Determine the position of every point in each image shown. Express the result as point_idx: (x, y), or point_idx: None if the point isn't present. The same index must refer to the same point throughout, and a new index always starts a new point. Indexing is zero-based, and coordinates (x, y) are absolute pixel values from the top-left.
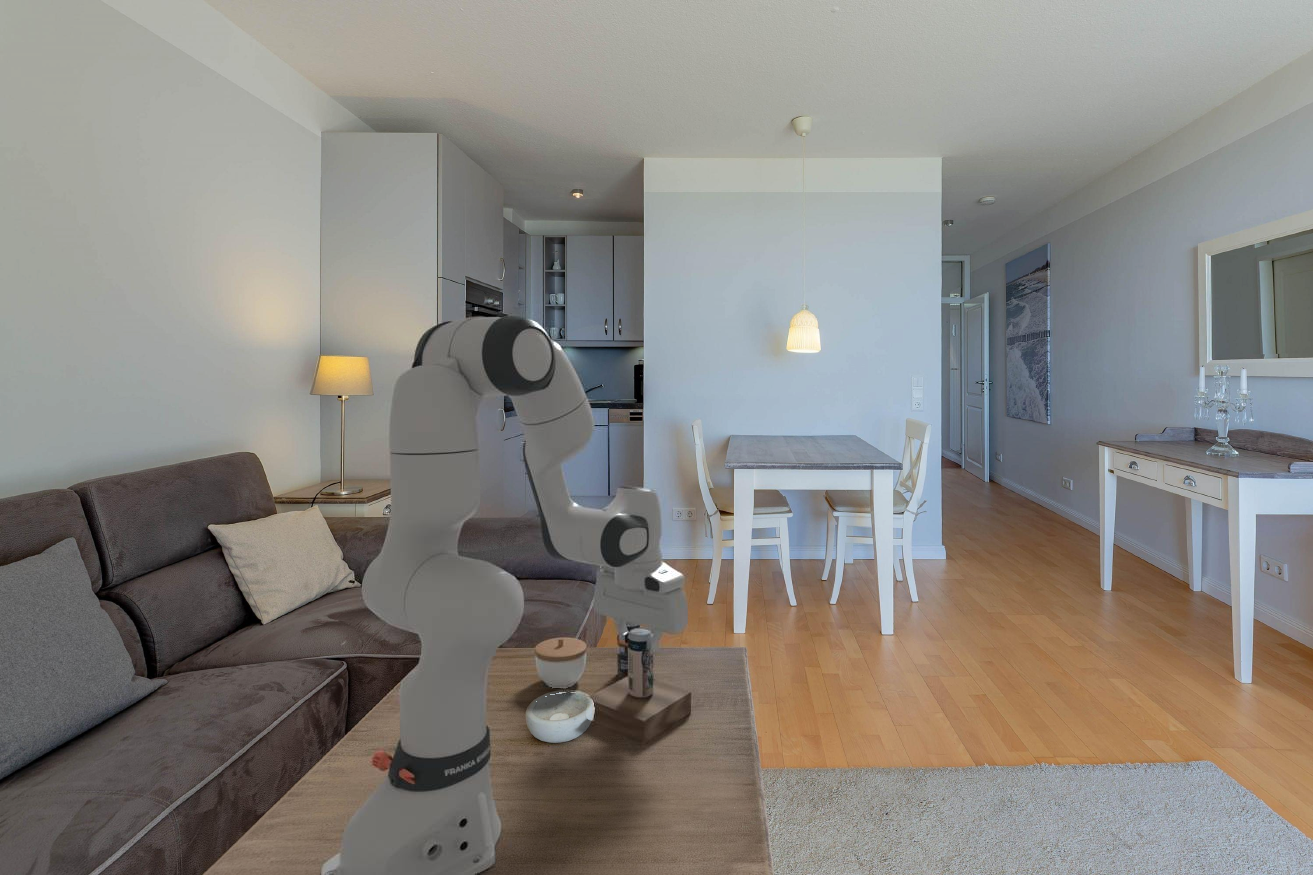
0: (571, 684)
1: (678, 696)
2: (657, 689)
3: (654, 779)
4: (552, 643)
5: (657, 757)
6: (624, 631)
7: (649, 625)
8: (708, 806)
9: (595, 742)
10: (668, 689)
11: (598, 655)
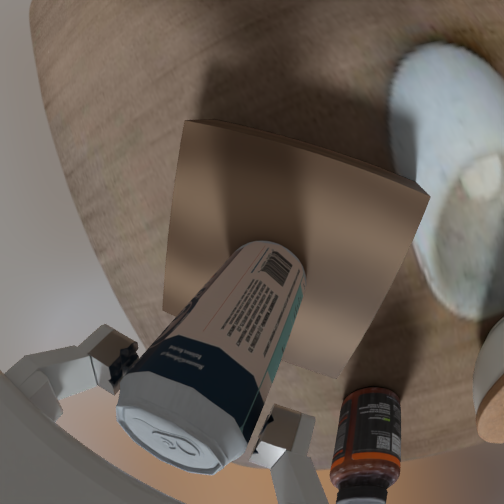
0: (492, 330)
1: (173, 283)
2: None
3: (144, 23)
4: None
5: (166, 84)
6: (279, 464)
7: (1, 392)
8: (68, 29)
9: (331, 73)
10: None
11: (446, 438)
